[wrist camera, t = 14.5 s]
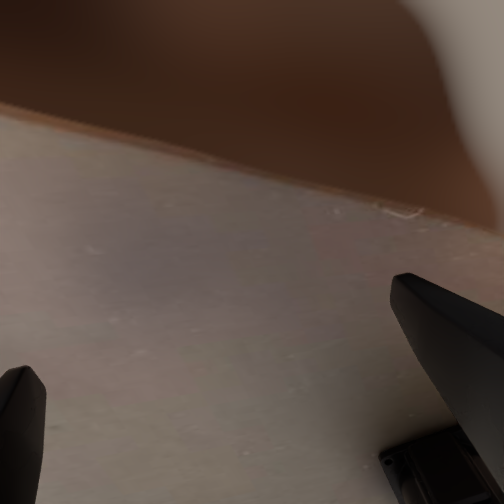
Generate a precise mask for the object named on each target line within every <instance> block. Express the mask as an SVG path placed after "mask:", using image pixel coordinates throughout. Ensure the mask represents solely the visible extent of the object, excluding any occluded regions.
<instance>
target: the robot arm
mask: <svg viewBox="0 0 504 504" xmlns="http://www.w3.org/2000/svg"><path fill="white" fill-rule="evenodd" d="M390 305H391V308H392V310H393V312H394V314H395V316H396V318H397V320H398V322H399V324H400V326H401V328H402V330H403V332H404V334H405V336H406V338H407V340H408V342H409V344H410V346H411V348H412V350H413V352H414V353H415V355H416V357H417V359H418V361H419V362H420V364H421V365H422V367H423V369H424V370H425V372H426V373H427V375H428V376H429V378H430V379H431V381H432V382H433V384H434V386H435V387H436V389H437V390H438V392H439V393H440V395H441V396H442V398H443V399H444V401H445V403H446V404H447V406H448V407H449V409H450V410H451V412H452V413H453V415H454V416H455V418H456V420H457V421H458V423H459V425H457V426H454V427H451V428H448V429H445V430H443V431H440V432H437V433H434V434H431V435H429V436H426V437H423V438H420V439H417V440H415V441H412V442H409V443H406V444H403V445H401V446H398V447H395V448H392V449H389V450H387V451H384V452H382V453H381V454H380V455H379V460H380V463H381V465H382V468H383V470H384V472H385V474H386V476H387V478H388V480H389V482H390V485H391V487H392V489H393V491H394V493H395V495H396V497H397V500H398V502H399V504H504V316H502V315H500V314H498V313H496V312H493V311H491V310H489V309H487V308H485V307H483V306H481V305H479V304H476V303H474V302H472V301H470V300H468V299H466V298H464V297H461V296H459V295H457V294H455V293H453V292H451V291H449V290H446V289H444V288H442V287H440V286H438V285H436V284H434V283H432V282H429V281H427V280H425V279H423V278H421V277H419V276H417V275H414V274H412V273H403V274H399V275H396V276H394V277H393V279H392V285H391V293H390ZM45 411H46V389H45V386H44V384H43V383H42V382H41V380H40V379H39V378H38V376H37V375H36V374H35V372H34V371H33V369H32V368H31V367H29V366H27V365H24V366H20V367H16V368H12V369H9V370H8V371H6V372H5V373H4V374H3V376H2V377H1V378H0V504H35V501H36V495H37V489H38V483H39V477H40V472H41V465H42V458H43V445H44V428H45Z"/></svg>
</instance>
